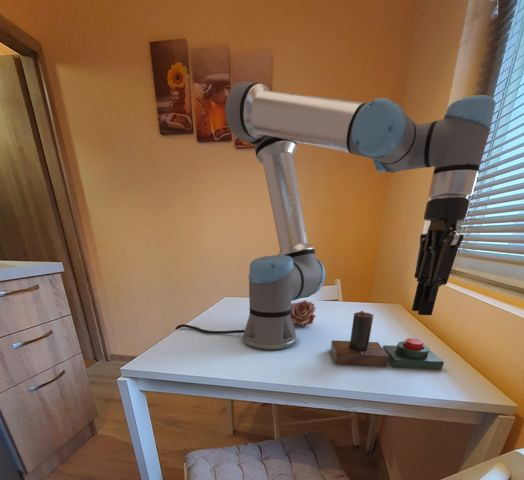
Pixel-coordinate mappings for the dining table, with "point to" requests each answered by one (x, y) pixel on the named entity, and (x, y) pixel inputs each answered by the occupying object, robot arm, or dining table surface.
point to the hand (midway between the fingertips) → (421, 312)
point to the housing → (412, 357)
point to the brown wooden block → (359, 355)
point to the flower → (302, 313)
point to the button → (413, 344)
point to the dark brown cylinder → (361, 331)
